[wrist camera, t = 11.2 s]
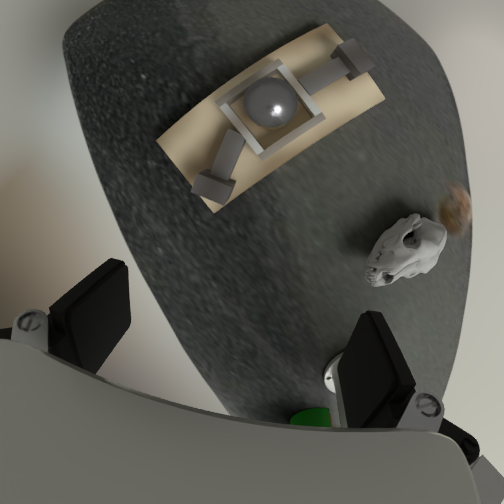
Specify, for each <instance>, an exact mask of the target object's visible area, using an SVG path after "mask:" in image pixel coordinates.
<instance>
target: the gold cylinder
mask: <svg viewBox="0 0 504 504" xmlns="http://www.w3.org/2000/svg"><path fill="white" fill-rule="evenodd" d="M243 104H244V109H245V111H246V113H247V115H248V116H249V118H250V119H251V120H252V121H253V122H254V123H255V124H256V125H258V126H259V127H261V128H263V129H265V130H277V129H280V128H282V127H284V126H285V125H286V124H287V123H288V122H289V121H290V120H291V119H292V117H293V116H294V115H295V113H296V110H297V107H298V98H297V95H296V92H295V91H294V89H293V88H292V86H291V85H290V84H288V83H287V82H286V81H284V80H282V79H279V78H275V77H266V78H261V79H259V80H257V81H255V82H253V83H252V84H251V85H250V86H249V87H248V89H247V90H246V92H245V95H244V100H243Z"/></svg>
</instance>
